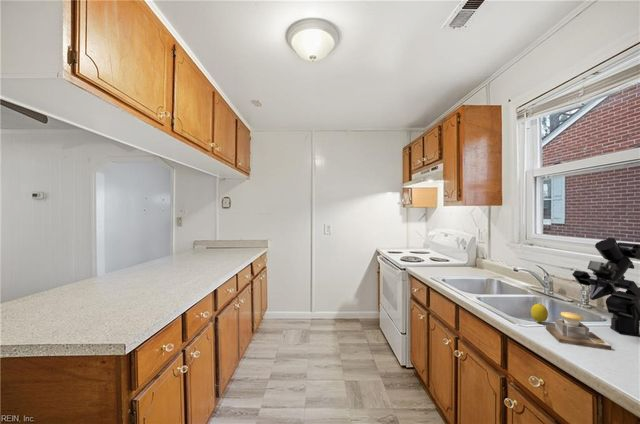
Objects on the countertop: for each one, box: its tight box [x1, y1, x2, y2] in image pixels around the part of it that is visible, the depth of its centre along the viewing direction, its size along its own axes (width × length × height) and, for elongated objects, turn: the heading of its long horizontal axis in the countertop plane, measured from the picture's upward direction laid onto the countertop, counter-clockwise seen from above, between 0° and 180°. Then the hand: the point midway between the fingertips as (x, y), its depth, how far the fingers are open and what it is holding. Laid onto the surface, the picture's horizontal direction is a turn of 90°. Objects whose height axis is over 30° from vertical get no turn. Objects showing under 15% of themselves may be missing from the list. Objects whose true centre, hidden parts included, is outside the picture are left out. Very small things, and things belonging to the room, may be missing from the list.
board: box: [545, 318, 612, 351], centre depth 102 cm, size 14×12×5 cm
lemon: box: [530, 302, 549, 324], centre depth 116 cm, size 6×6×8 cm
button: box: [560, 311, 584, 327], centre depth 103 cm, size 6×6×5 cm
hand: (591, 299), depth 105 cm, fingers closed
